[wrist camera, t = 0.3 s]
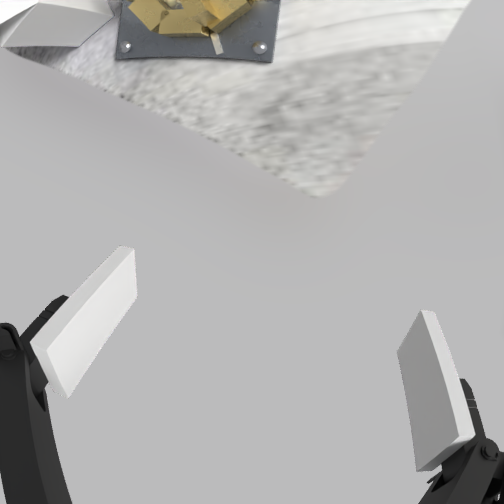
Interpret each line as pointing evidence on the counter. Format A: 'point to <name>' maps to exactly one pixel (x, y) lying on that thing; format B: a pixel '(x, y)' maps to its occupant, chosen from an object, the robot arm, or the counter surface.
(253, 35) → the flange plate
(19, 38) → the milk carton
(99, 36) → the counter surface
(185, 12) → the gold foil sensor mount
